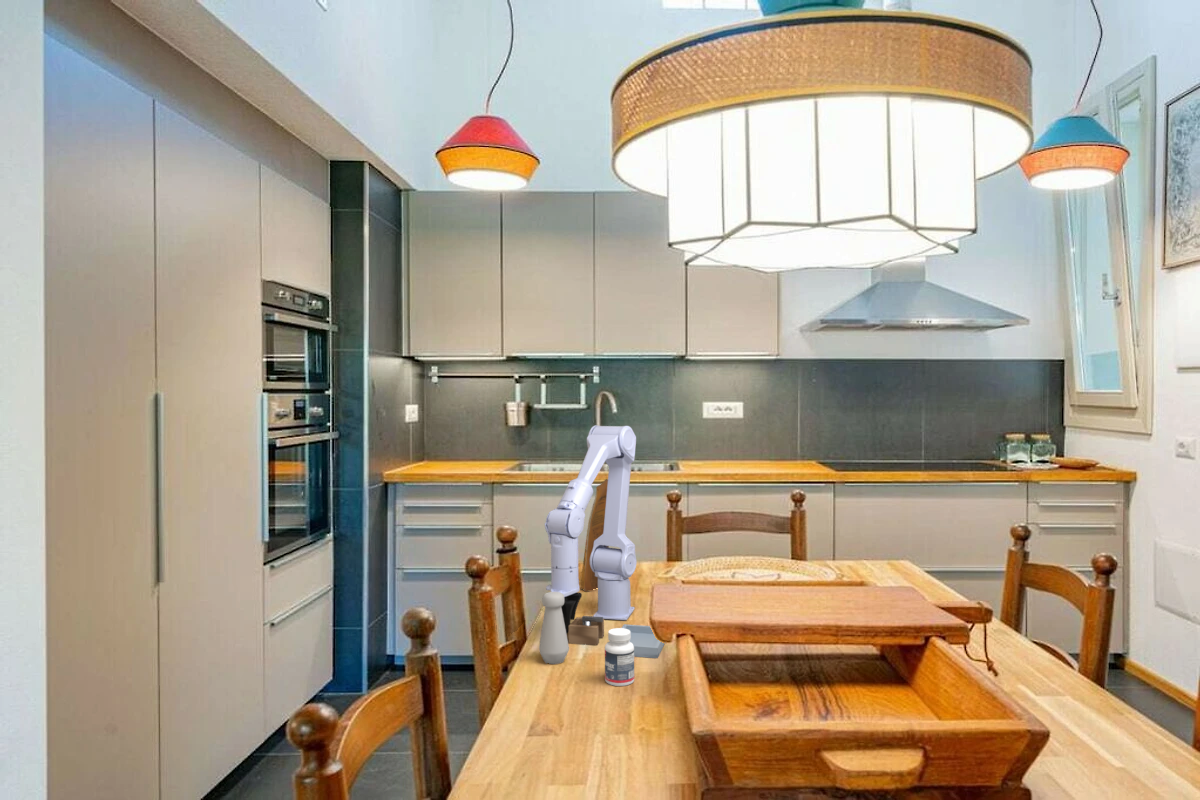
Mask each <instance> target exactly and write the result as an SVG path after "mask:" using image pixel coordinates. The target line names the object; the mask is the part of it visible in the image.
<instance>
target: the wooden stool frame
mask: <svg viewBox="0 0 1200 800" xmlns="http://www.w3.org/2000/svg"><path fill="white" fill-rule="evenodd" d="M566 634H567V639H568V644H571V645H572V644H573V645H574V644H575V645H583V646H584V645H585V644H586V645H587V646H598V645H599V643H600V639H603V638H604V637H605V619H603V622H591V626H586V625H583V622H582V617H581V616H580V617H577V616H575V619H574V620H570V625H569V632H568V633H566Z"/></svg>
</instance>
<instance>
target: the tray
mask: <svg viewBox="0 0 1200 800" xmlns="http://www.w3.org/2000/svg"><path fill="white" fill-rule="evenodd" d="M650 626H651V625H641V624H640V625H638V624H625V623H624V624H622V626H621V628H625V629H628V630H630V632H631V638H630V642H631V643H632V644H633V646H634V658H635V657H637V658H650V659H658V658H659V656H660V654H661V652H662V651H663V648H664V646H665V644H664V643H662V642H660V641H659V640H657V639H656V638H655V636H654V634H653V632H652V630H651V628H650Z"/></svg>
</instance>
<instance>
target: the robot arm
mask: <svg viewBox="0 0 1200 800" xmlns="http://www.w3.org/2000/svg"><path fill="white" fill-rule="evenodd" d="M636 444H637V436H636V434H635V432H634V430H633V428H632V427H631V426H629V425H622V426H621V425H620V426H618V425H616V426H615V425H612V426H611V425H608V426H607V425H596V424H595V425H593V426H592V427H591V428H590V430H589V431H588V435H587V437H586V446H587V452H586V454H585V457H584V459H583V462H582V465H581V466H580V467H581V468H580V469H579V473H578V474H577V477H576V478H574V479H571V480H570V481H568V484H567V487H566V488H565V490H564V492H563V494H562V497H561V498H560V500H559V502H558V505H557V507H556V508H554V509H552V510H551V511H549V513H548V514H547V516H546V520H545V522H544V528H545V529H544V530H545V531H546V533H547V537H548V542H549V544H550V561H551V562H550V563H551V564H550V567H551V569H550V570H551V571H550V573H551V576H550V577H551V584H548V585H546V586H545V590H546V591H549V592H560V593H562V594H563V595H564V599H565V600H564V605H563V606H561V608H562V613H563V618H564V623H565V629H566V633H568V632H569V625H570V620H575V619H576V613H577V612H576V611H577V608H578V606H579V603H580V600H581V598H582V595H583V594H582V592H580V580H579V536H580V535H581V533H582V532H583V531H584V526H585V518H586V513H585V511H586V510H587V507H588V505H589V503H590V500H591V499H592V497H593V495H594V488H593V486H592V485H593V483H594V481H595V479H596V477H597V476H598V474H599V472H600V471H601V469H602V468H603V466H604V464H606V465H607V467H608V474H607V479H608V485H607V496H606V508H605V519H604V531H603V534H602V535H601V536H600V537H598V538H597V539H596V540H595V541H594V545H593V550H592V552H591V555H590V566H591V569H592V571H593V572H595V576H596V577H598V590H597V609H598V610H596V612H595V613H594V614H593V616H595V617H603V619H604V620H613V621H614V620H616V621H617V620H618V621H627V620H628V619H629V618H630V617H631V615H632V614H633V612H634V611H635V607H634V606H631V604H632V602H631V580H630V578H631V577H632V575H633V574H634V573H635V570H636V567H637V557H636V545H635V543H634V542H633V541H632V540H631V539H630V538H629V537H627V535H626V530H627V520H628V510H629V509H628V507H629V494H630V483H631V482H630V481H631V474H632V473H631V470H632V463H634V462H635V457H636V446H637V445H636ZM607 546H609V548H608V547H607Z"/></svg>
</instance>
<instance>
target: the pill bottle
mask: <svg viewBox="0 0 1200 800" xmlns="http://www.w3.org/2000/svg"><path fill="white" fill-rule="evenodd" d="M630 638H631V632H630V630H628V629H625V628H622V627H616V628H611V629H609V630H608V634H607V641H608V642H606V644H605V646H604V680H605V683H607V684H608V685H610V686H615V687H624V686H625V687H626V686H629V685H632V684H633V683H634V682H635V656H634V646H633V644H632V643H631V642H630Z"/></svg>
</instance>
